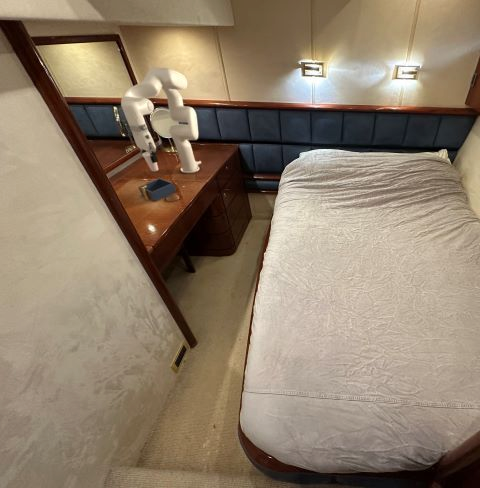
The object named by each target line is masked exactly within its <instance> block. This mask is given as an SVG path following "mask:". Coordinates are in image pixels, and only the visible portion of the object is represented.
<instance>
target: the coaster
mask: <svg viewBox="0 0 480 488" xmlns="http://www.w3.org/2000/svg"><path fill="white" fill-rule="evenodd" d="M179 199H180V195H179V194H170V195H168V196H166V197H165V200H166V202H169V203H171V202H172V203H173V202H176V201H178V200H179Z"/></svg>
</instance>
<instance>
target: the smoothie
mask: <svg viewBox="0 0 480 488" xmlns="http://www.w3.org/2000/svg"><path fill="white" fill-rule="evenodd" d="M150 152H151V153H152V152H153V151H150ZM141 155H143V156H142V158H143V157H144V158H145V160H144V161H145V162H146V164H147V166H148V167H149V169H150V171H151V172H158V171H159V166H158V162H155V163H152V160H151V157H150V156H151V155H150V154H149V152H148V151H146V152H144V153H143V154H142V153H141ZM144 158H143V159H144Z"/></svg>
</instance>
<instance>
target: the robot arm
mask: <svg viewBox="0 0 480 488" xmlns="http://www.w3.org/2000/svg"><path fill="white" fill-rule="evenodd" d="M187 88H188V80H187V78H186V76H185V75H184V74H183V73H180V72H178V71H176V70H175V69H172V68H168V67H155V66H154V67H150V68H149V69H148V71H147V72H146V74H145V76H144V77H143V79H142V81H141V82H139V83H137V84H135V85H133V86H131V87H129V88H128V89H127V90H126V91H125V92H124V93H123V95H122V97H121V101H120V107H121V109H122V111H123V113H124V116H125V120H126V121H127V124H128V126H129V129H130V131H131V133H132V136H133V139H134V143H135V145H136V147H137V148H138V150H139V152H140V153H141V155H142V154H143V153H144V152H149V154H150V155H151V156H150V157H151V160H152V163H155V162H157V163H158V162H159V159H158V157H157V151H158V149H157V146H156V143H155V141H154V139H153V137H152V135H151V132H150V131H149V129H148V126H147V124H146V121H145V118H144V116H146V115H151V114H152V113H153V112H154V110H155V109H154V108H155V106H154V104H153V102H152V101H151V100H150V99H151V98H155V97H157V96H158V95H159V94H160V92H161V90H163V92H164V94H165V95H166V98H167V105H168V111H169V117H170V120H171V121H174V122H177V123H172V124H171V125H170V126H169V127H168V131H169V134H170V137H171V139H172V140H173V143H174V146H175V148H176V151H177V155H178V159H179V161H180V165H181V168H180V172H181V173H183V174H193V173H197V172H198V171H200V167H199V166H200V165H201V164H202V161H201V160H199V161H197V160H196V159H195V155H194V151H193V148H192V144H191V143H190V141H197V140H198V139H199V125H198V115H197V112H196V110H195V109H194V108H193V107H191V106H188V105H187V106H185V105H184V101H183V96H182V95H181V94H180V92H179V91H185V90H186V89H187ZM184 123H187V124H184ZM150 151H151V152H152V153H151V152H150ZM142 159H143V160H144V161H146V160H145V158H144V157H143V155H142Z"/></svg>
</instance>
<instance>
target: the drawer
mask: <svg viewBox="0 0 480 488" xmlns="http://www.w3.org/2000/svg"><path fill="white" fill-rule="evenodd" d="M137 188H138V190H139V192H140V195H141V197H144V198H145V200H146V201H148V200H151V201H153V202H158V201H160V200H162V199H164V198H166V197H168V196H170V195H173V194H174V193H176V192H177V190H176V188H175V185H174V183H173V182H171V181H168V180H166V179H163V178H157V179H154V180H152V181H149V182H147V183H145V184H142V185H140V186H138V187H137Z"/></svg>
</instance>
